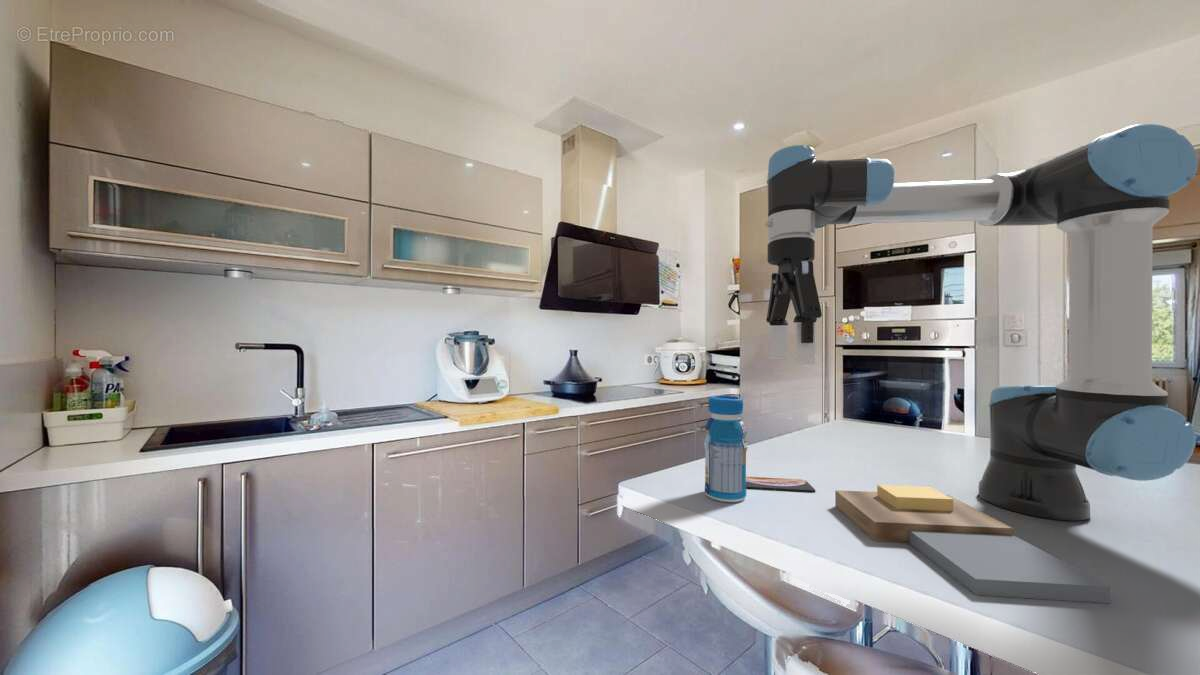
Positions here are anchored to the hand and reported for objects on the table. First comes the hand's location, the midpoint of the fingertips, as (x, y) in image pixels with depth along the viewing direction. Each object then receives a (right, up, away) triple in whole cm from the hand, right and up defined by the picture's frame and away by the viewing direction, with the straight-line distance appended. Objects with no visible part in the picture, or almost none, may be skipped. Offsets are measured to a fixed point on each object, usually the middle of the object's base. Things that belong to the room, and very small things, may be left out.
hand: (790, 362), depth 74 cm
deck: (+21, -28, -1) cm, 35 cm away
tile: (+22, -25, +1) cm, 33 cm away
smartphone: (+5, -29, +19) cm, 35 cm away
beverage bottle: (-8, -28, +12) cm, 32 cm away
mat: (+22, -28, -15) cm, 39 cm away
